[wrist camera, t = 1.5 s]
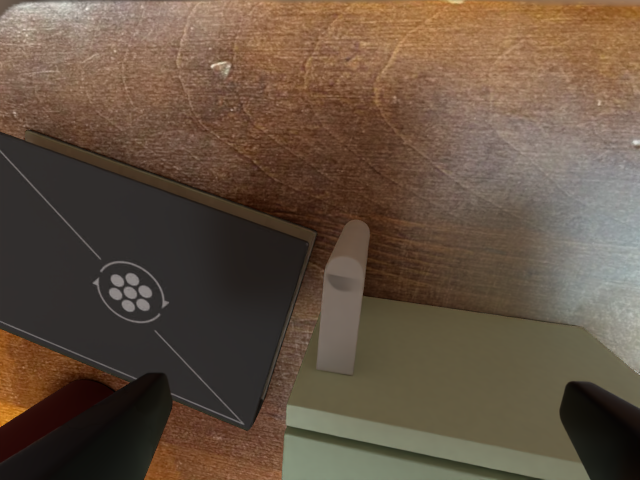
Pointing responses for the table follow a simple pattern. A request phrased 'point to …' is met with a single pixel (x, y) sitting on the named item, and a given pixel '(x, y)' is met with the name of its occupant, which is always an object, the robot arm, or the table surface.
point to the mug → (49, 415)
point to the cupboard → (371, 461)
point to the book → (145, 274)
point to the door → (445, 376)
